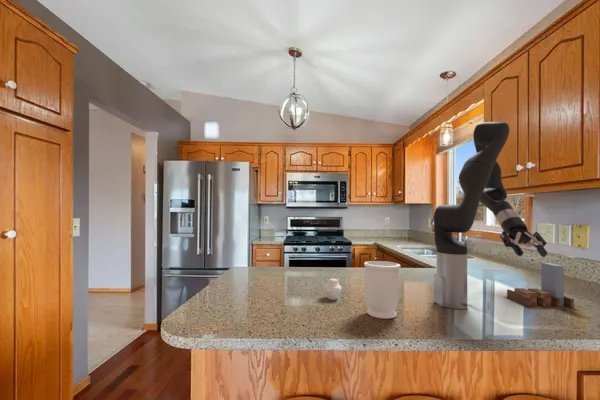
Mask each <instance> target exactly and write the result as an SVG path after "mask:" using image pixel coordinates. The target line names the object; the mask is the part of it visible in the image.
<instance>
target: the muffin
mask: <svg viewBox="0 0 600 400" xmlns="http://www.w3.org/2000/svg"><path fill="white" fill-rule="evenodd" d="M323 290H324V292H325V295H326V297H327V298H328V300H330V301H331V300H332V301H333V300H334V301H335V300H338V299H339V296H340V295H341V293H342V292H341V291H342V290H343V288H342V285H340V283H339V280H338V279H336V278H329V279H328V280H327V283H326V284H325V285H324V287H323Z"/></svg>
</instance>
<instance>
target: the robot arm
mask: <svg viewBox="0 0 600 400" xmlns="http://www.w3.org/2000/svg"><path fill="white" fill-rule="evenodd" d="M509 135H510V126H509V124H508V123H507V122H505V121H489V122H487V121H486V122H479V123H478V122H477V124H476V125H475V126H474V129H473V143H474V148H475V151H476V153H475V154H473V155H472V156H470V158H468V159H467V160H466V161H465V162H464V164H463V166H462V168H461V170H460V172H459V175H458V182H459V185H460V187H461V190H462V192H463V194H464V196H463V199H462V201H461V202H460V203H459V204H440V205H438V206H437V207H436V208H435V210H434V213H433V231H434V234H433V235H434V244H435V248H436V249H435V250H436V265H435V266H436V273H433V302H434V303H435V304H437V305H438V306H440V307H441V308H449V309H456V310H463V309H467V308H468V246H467V245H466V244H465V243H463V242H461V241H459V240H457V239H456V237H454V236H453V233H457V234H458V233H460V234H463V233H468V232H469V231H470V230H471V228H472V226H473V225H474V222H475V218H476V215H477V212H478V209H479V205H480V203H481V204H482V205H483V206H484V207H486V208H487V209H488V210H489V211H491V212H492V213H493V215H494V217H495V218H496V221H497V222H498V224H499V226H500V228H501V230H503V231H502V232H501V234H499V238H500V239H501V241H502V243H503V244H504V246H505V247H506V248H511V249H512V250H513V252H514V253H515V254H516V255H517V256H518V257H522V256H523V254H524V251H523V250H522V248H521V247H520V245H521V244H522V245H523V244H524V245H525V244H526V245H528V246H529V247H534V248H535V249H536V250H537V252H538V253H539V255H540V256H541V257H542V258H546V256H547V255H548V251H547V250H546V248H545V246H546V245H547V242H546V240H545V239H544V238H543V237H542V235H540V233H539V232H538V231H535V232H532V233H531V232H530V231H529V230H528V226H527V225H526V223H525V222H524V220H522V218H521V216H520V215H519V214H518V213H517V212H516V211H515V209H514V208H513V207H512V205H511V204H510V203H509V202H508V201H506V199H507V197H508V193H507V191H506V189H505V187H504V185H503V181H502V180H503V179H502V168H501V166H500V164H499V162H497V160H498V158H499V156H500V154H501V152H502V151H503V149H504V146H505V145H506V143H507V140H508V138H509ZM531 240H532V241H531ZM519 244H520V245H519Z"/></svg>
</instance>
